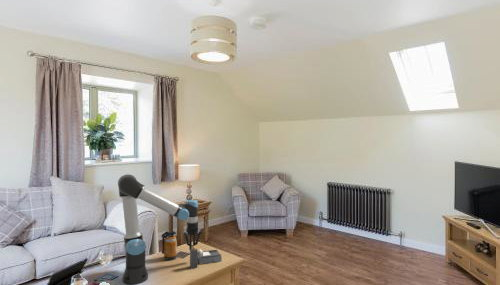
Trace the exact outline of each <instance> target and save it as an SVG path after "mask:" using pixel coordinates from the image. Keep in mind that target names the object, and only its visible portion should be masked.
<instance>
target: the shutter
mask: <svg viewBox="0 0 500 285" xmlns="http://www.w3.org/2000/svg"><path fill="white" fill-rule="evenodd" d="M203 251H204V250H202V248H200V249H198V252H199V254H200V256H201V257H204V256H211V255H210V253H209V252H203Z"/></svg>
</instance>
